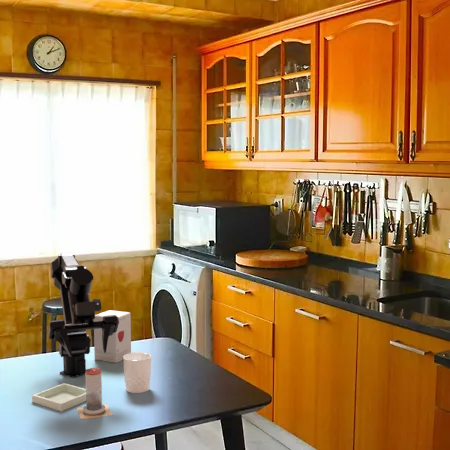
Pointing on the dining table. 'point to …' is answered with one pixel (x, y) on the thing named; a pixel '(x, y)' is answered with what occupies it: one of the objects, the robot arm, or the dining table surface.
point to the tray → (60, 397)
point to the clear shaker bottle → (93, 393)
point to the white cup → (137, 371)
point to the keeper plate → (106, 413)
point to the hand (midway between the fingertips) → (88, 354)
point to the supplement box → (113, 338)
